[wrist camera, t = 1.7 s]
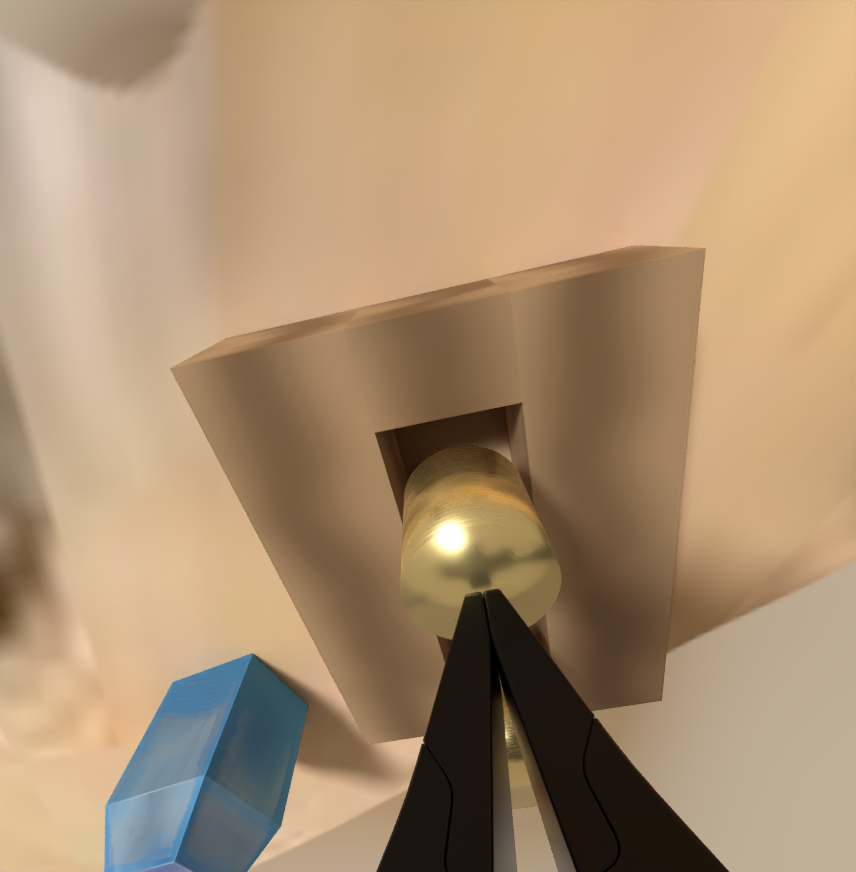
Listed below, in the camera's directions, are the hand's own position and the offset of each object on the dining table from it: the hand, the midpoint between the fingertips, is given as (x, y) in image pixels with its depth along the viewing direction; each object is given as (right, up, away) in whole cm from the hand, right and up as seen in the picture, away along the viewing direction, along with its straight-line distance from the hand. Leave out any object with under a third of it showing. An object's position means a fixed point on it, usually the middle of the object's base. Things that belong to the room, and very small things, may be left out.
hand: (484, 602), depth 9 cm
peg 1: (0, +2, +4) cm, 4 cm away
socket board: (+1, 0, +11) cm, 11 cm away
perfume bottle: (-14, -13, +17) cm, 25 cm away
